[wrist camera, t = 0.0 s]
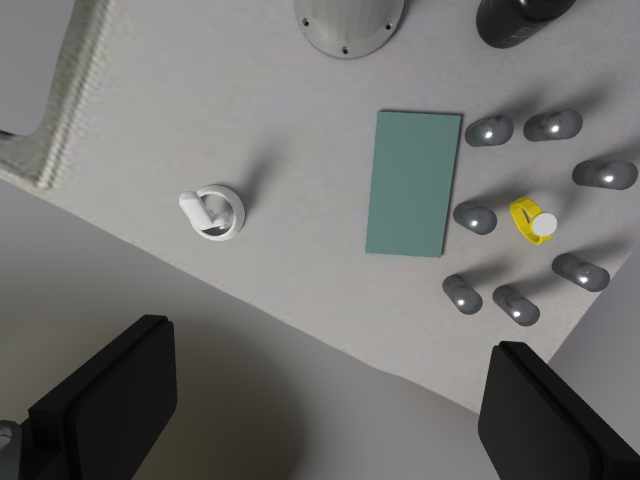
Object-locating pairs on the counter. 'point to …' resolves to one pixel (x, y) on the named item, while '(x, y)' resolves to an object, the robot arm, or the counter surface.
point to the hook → (208, 218)
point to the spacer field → (486, 220)
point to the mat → (411, 183)
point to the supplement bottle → (516, 19)
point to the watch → (533, 220)
